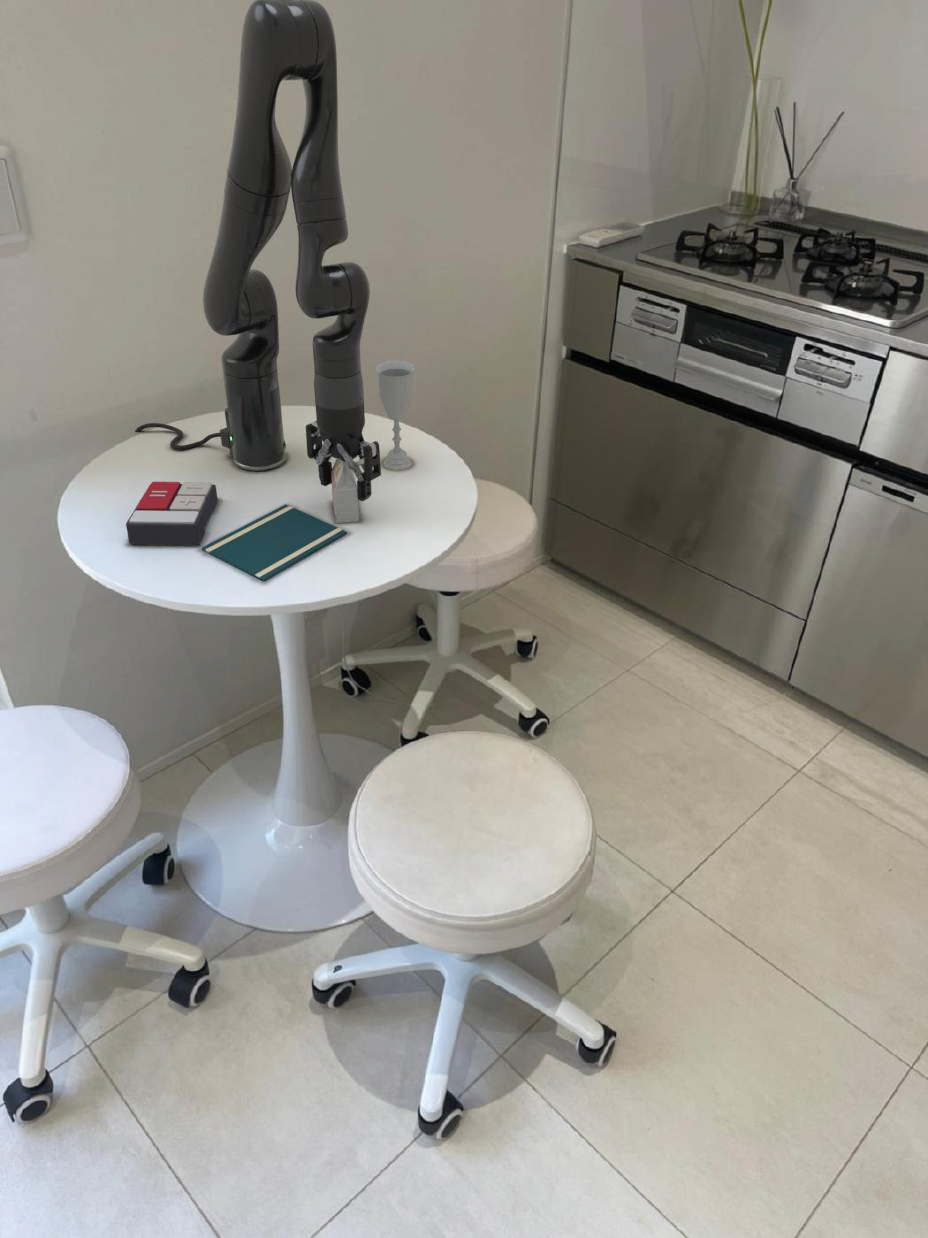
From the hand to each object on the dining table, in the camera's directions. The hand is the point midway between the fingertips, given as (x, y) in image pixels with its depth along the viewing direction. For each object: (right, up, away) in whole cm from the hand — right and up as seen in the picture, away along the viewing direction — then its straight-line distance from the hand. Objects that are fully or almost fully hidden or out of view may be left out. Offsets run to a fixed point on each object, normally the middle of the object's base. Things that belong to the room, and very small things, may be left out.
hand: (345, 491), depth 157 cm
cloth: (-10, -9, -6) cm, 15 cm away
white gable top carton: (0, -3, +2) cm, 4 cm away
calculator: (-27, -5, -2) cm, 28 cm away
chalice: (+7, +7, +17) cm, 20 cm away
